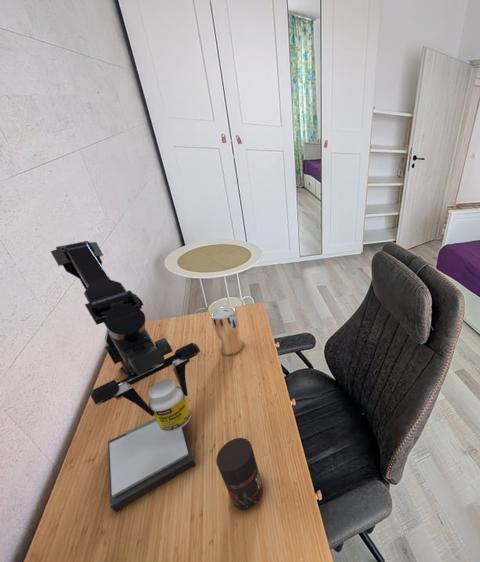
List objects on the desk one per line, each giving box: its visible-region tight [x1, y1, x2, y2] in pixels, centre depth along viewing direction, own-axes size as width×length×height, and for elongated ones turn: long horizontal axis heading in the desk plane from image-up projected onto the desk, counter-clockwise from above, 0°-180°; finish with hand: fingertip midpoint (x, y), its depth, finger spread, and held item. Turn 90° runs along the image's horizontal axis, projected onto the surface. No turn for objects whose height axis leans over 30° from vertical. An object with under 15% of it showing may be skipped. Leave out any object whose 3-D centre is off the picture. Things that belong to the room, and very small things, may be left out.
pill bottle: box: [147, 379, 192, 432], centre depth 62 cm, size 6×6×11 cm
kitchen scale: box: [107, 418, 197, 513], centre depth 63 cm, size 16×14×3 cm
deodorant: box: [215, 437, 264, 511], centre depth 55 cm, size 6×6×15 cm
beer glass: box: [210, 305, 243, 356], centre depth 90 cm, size 7×7×15 cm
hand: (170, 405), depth 61 cm, fingers closed on pill bottle, 6 cm apart
